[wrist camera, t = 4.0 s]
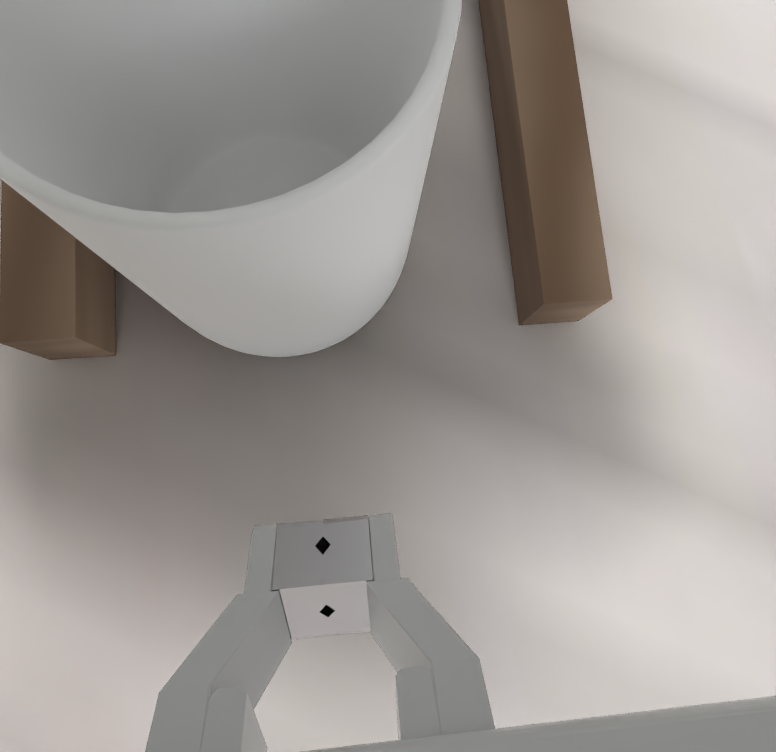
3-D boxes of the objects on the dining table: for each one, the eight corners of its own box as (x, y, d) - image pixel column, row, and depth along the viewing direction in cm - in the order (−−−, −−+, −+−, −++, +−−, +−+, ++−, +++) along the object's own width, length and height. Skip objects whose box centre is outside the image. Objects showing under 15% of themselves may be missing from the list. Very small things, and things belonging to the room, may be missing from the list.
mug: (298, 4, 20) (233, -485, 10) (501, 115, 19) (657, -266, 9) (105, 282, 18) (-235, 44, 8) (326, 410, 18) (279, 339, 7)
